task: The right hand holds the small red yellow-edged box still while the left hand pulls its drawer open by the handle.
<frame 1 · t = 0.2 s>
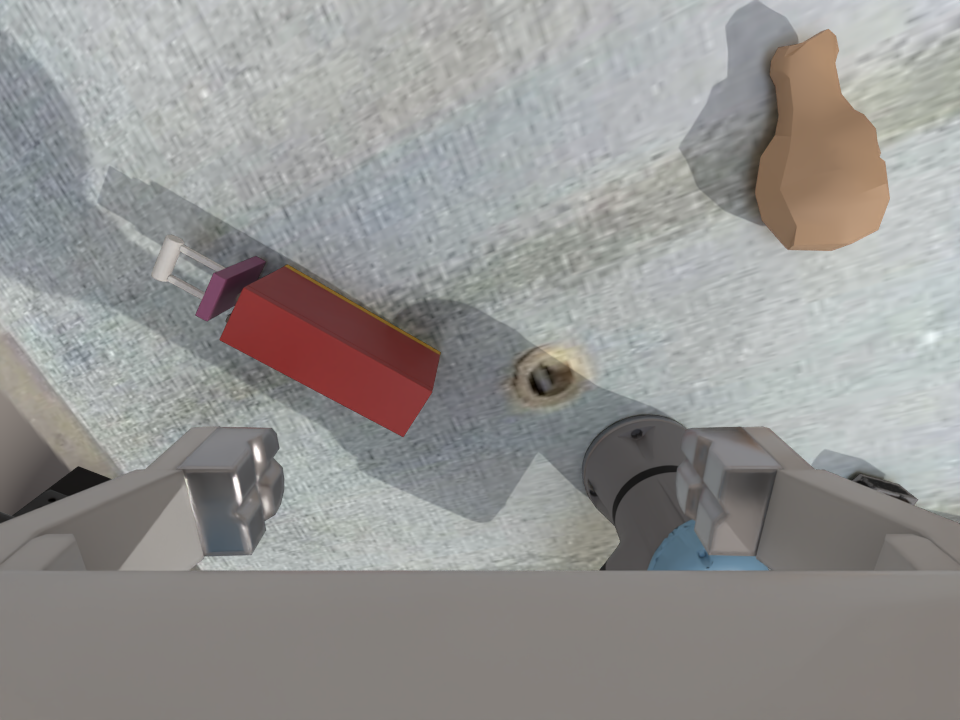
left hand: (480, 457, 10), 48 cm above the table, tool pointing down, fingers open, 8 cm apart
drawer: (284, 314, 53), point 6 cm above the table, slide at 1.9 cm
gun: (905, 547, 71), on the table
squash: (790, 151, 52), on the table
red yellow-edged box: (354, 330, 59), on the table
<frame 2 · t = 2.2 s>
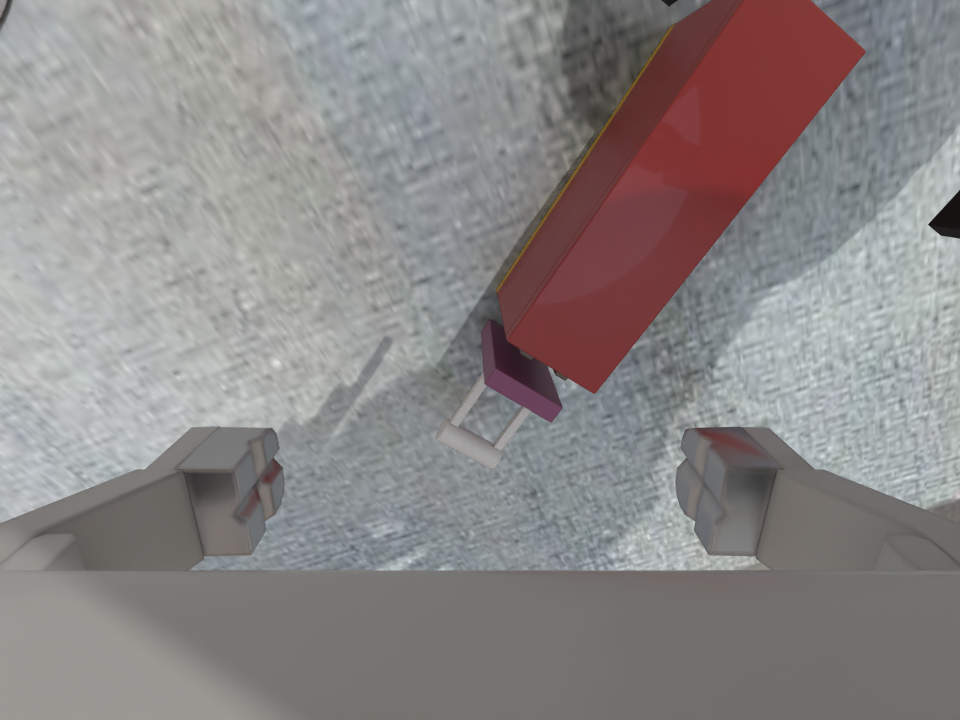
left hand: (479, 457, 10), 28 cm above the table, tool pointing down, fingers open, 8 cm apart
drawer: (567, 294, 32), point 6 cm above the table, slide at 1.9 cm
red yellow-edged box: (610, 194, 35), on the table
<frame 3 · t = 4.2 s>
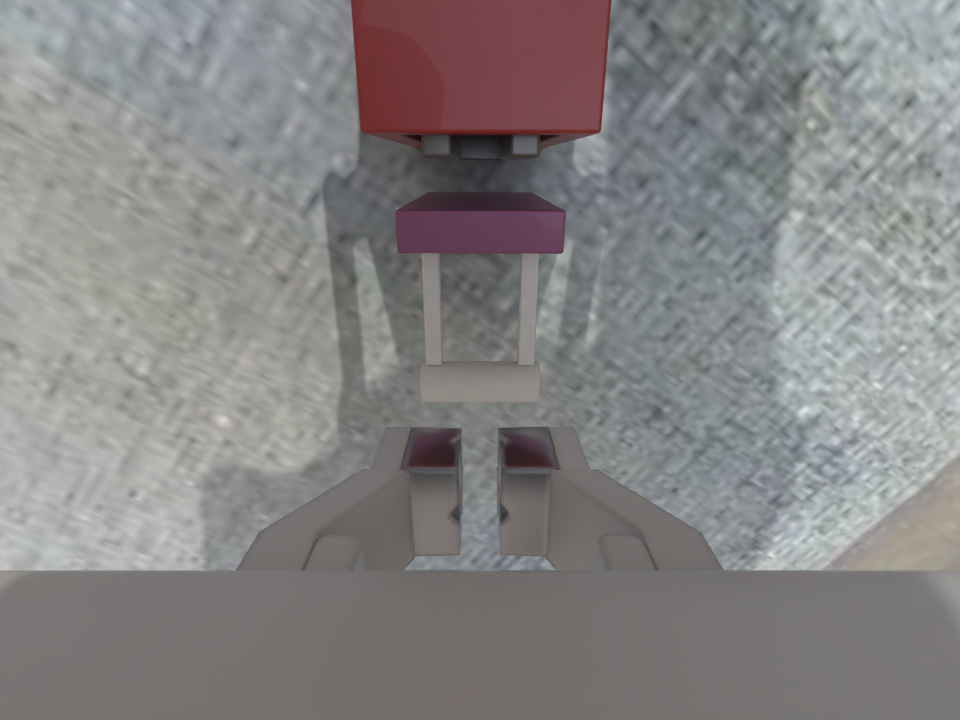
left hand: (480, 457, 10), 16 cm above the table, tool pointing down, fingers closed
drawer: (480, 37, 17), point 6 cm above the table, slide at 1.9 cm
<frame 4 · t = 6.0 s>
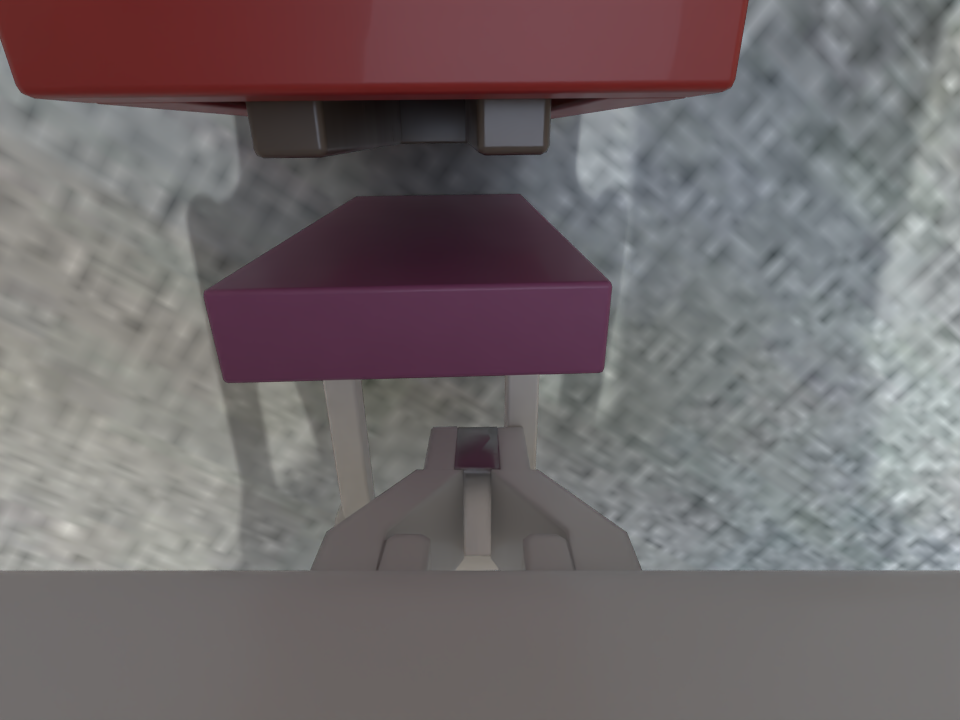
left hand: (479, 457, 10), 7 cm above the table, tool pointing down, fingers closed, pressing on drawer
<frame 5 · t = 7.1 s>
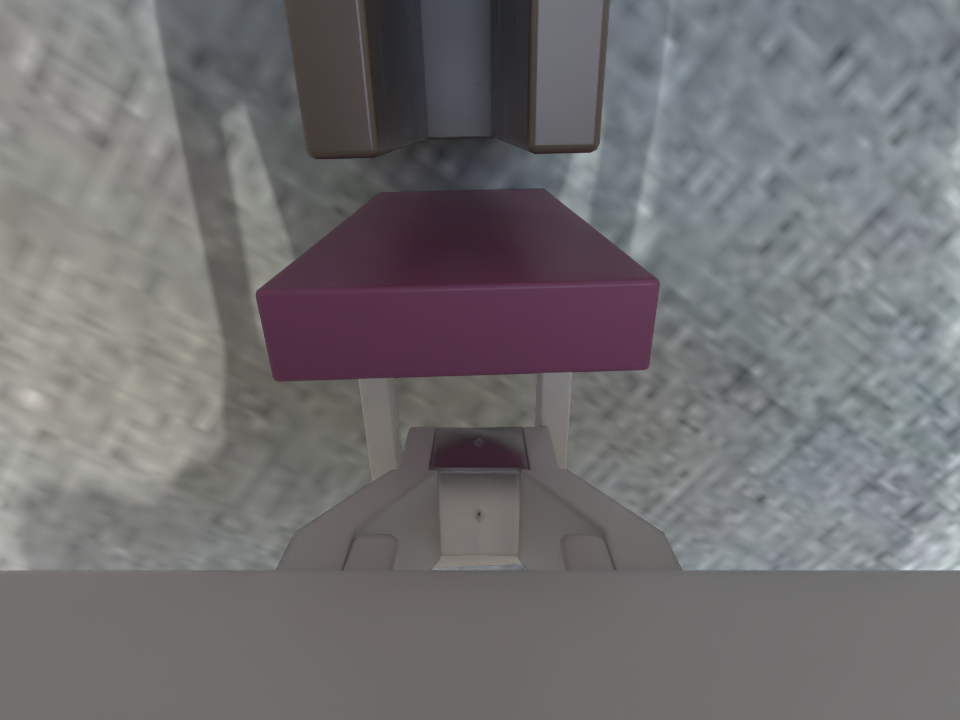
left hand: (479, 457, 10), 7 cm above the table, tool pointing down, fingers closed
when the right hand's fingers open (6 cm above the table, at t = 8.4 s): red yellow-edged box stays where it is, on the table.
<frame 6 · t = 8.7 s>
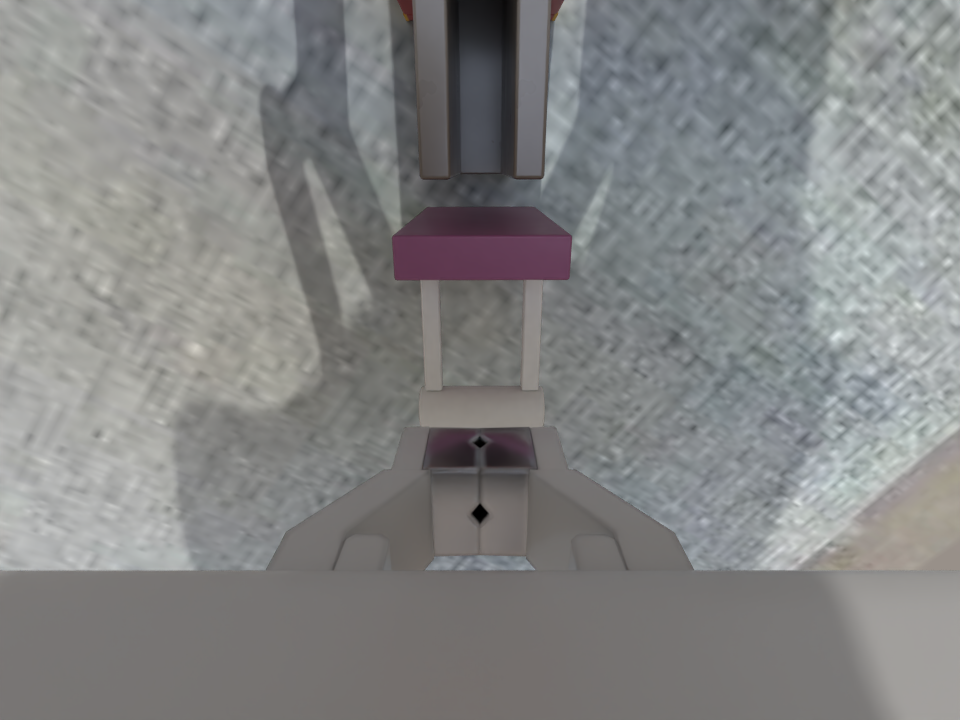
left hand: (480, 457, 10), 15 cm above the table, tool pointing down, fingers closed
drawer: (481, 50, 16), point 6 cm above the table, slide at 7.1 cm
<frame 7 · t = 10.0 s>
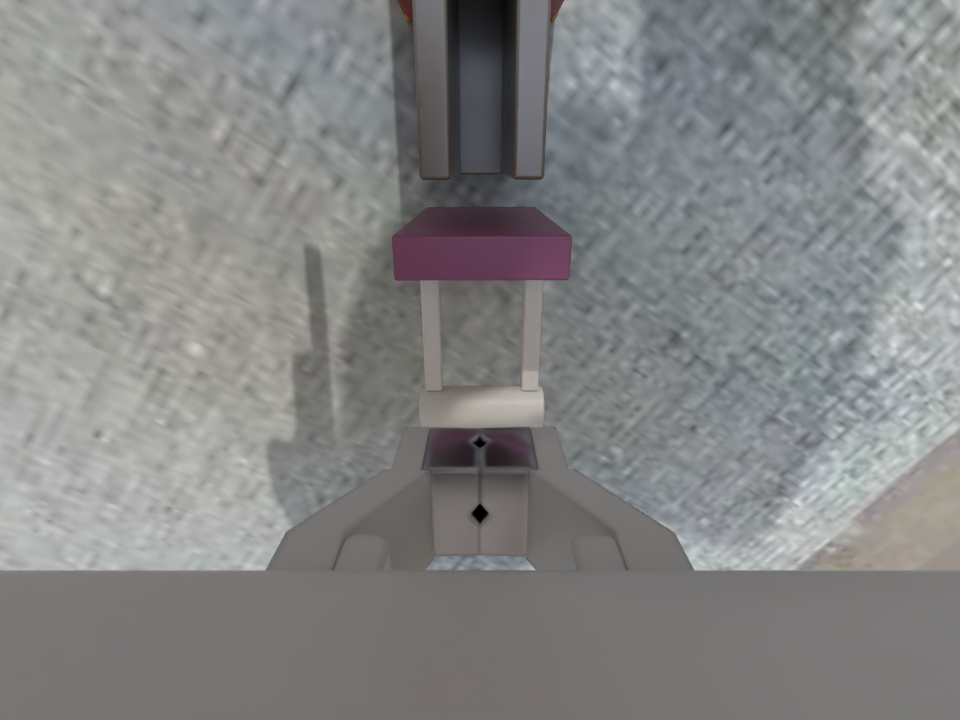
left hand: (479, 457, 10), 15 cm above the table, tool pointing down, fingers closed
drawer: (481, 50, 16), point 6 cm above the table, slide at 7.1 cm
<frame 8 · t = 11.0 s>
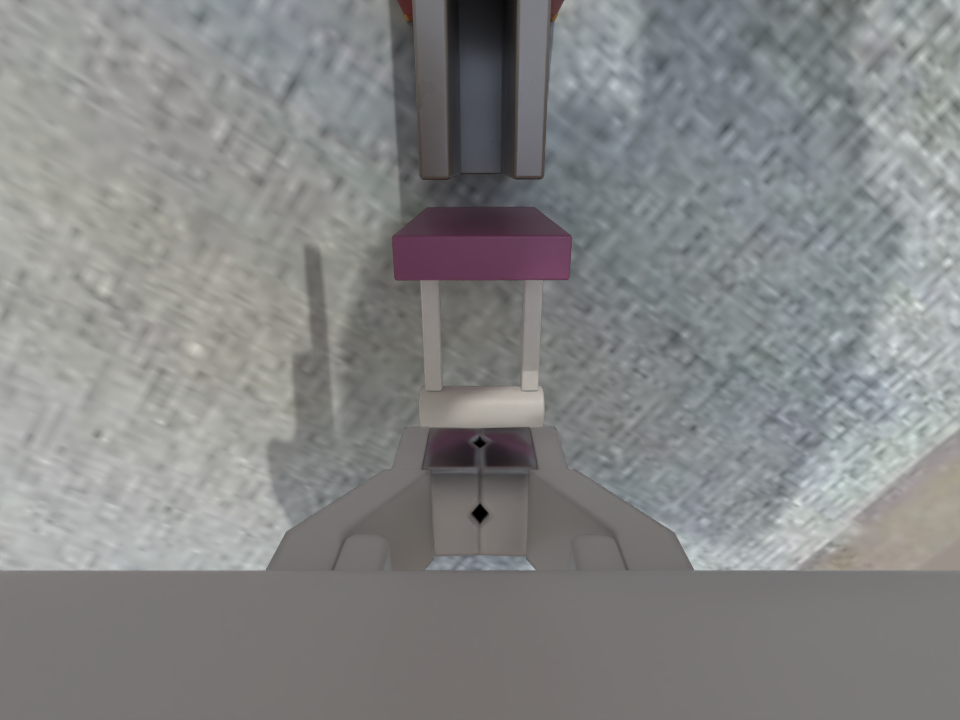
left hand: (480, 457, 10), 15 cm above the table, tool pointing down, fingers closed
drawer: (481, 50, 16), point 6 cm above the table, slide at 7.1 cm
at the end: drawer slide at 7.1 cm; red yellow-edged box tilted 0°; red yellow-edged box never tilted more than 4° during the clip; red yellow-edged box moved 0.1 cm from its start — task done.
